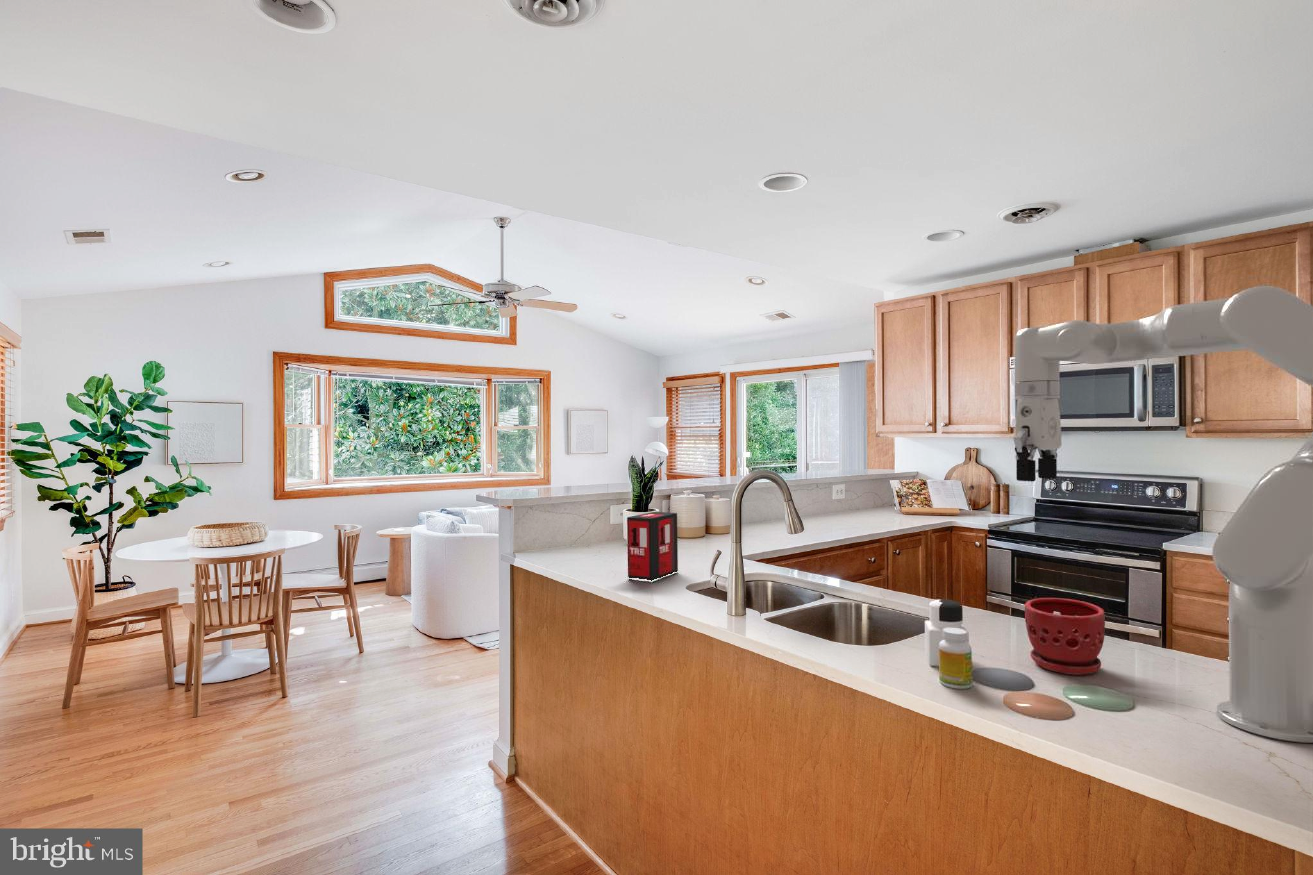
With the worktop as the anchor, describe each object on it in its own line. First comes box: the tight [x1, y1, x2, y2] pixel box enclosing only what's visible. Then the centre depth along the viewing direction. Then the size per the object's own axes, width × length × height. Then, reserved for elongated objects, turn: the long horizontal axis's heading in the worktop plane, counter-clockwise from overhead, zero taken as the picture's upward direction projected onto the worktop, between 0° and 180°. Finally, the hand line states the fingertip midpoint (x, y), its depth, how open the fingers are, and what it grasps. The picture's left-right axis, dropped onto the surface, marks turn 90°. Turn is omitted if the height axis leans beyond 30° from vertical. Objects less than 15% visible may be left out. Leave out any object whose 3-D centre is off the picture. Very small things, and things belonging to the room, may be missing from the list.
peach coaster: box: [1002, 691, 1074, 720], centre depth 108 cm, size 10×10×1 cm
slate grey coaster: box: [972, 667, 1034, 691], centre depth 120 cm, size 10×10×1 cm
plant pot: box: [1024, 597, 1106, 676], centre depth 126 cm, size 13×13×12 cm
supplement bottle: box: [938, 628, 973, 690], centre depth 118 cm, size 5×5×10 cm
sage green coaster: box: [1062, 684, 1134, 712], centre depth 111 cm, size 10×10×1 cm
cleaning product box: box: [626, 511, 679, 581], centre depth 212 cm, size 16×9×20 cm, turn 148°
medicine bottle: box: [924, 598, 970, 668], centre depth 130 cm, size 7×7×12 cm
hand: (1036, 479), depth 127 cm, fingers open, 9 cm apart
